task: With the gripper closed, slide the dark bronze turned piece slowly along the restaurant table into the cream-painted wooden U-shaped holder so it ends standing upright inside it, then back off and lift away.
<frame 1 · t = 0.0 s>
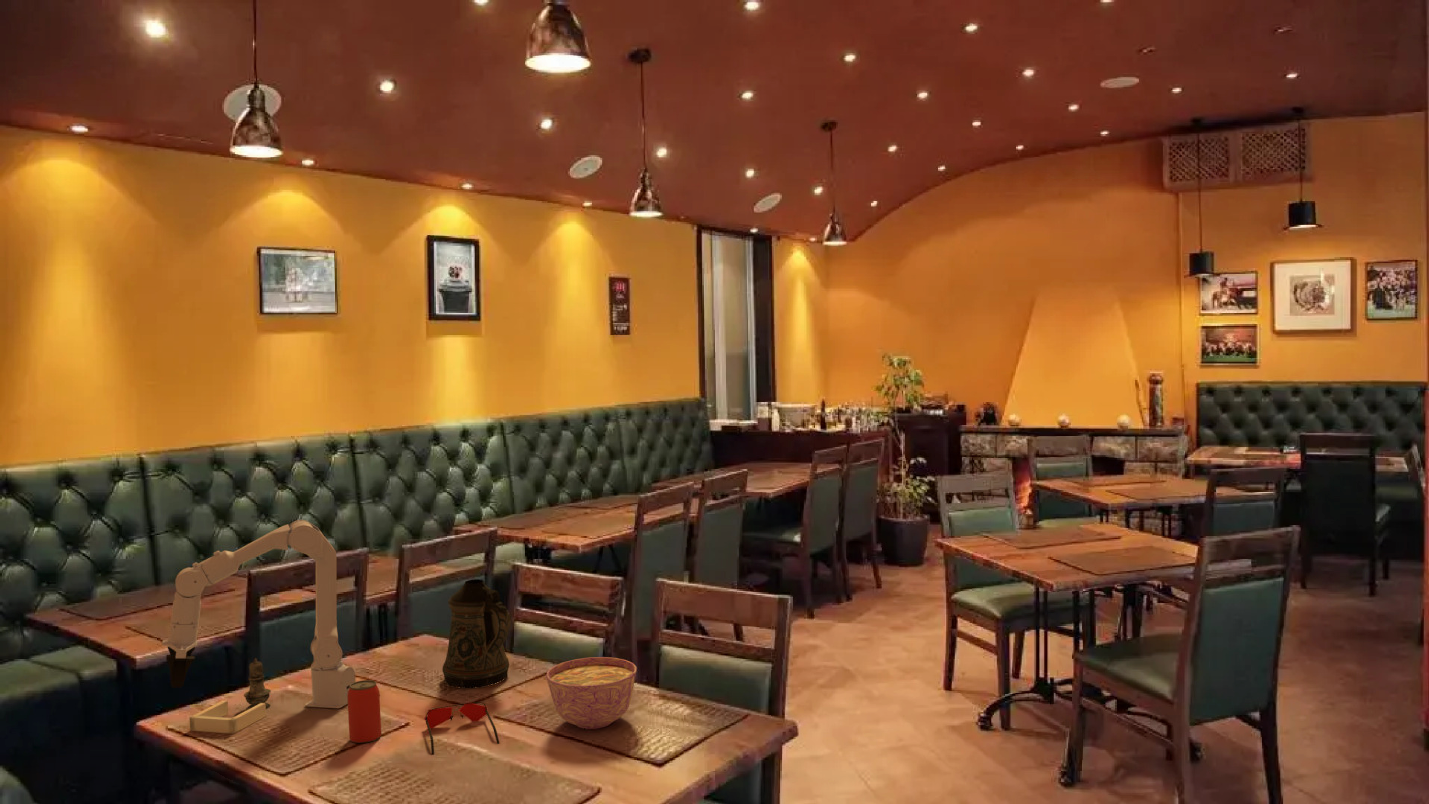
hand: (177, 682, 230), 11 cm above the table, tool pointing down, fingers open, 7 cm apart
beer can: (365, 739, 221), on the table
beer stein: (482, 678, 259), on the table
bowl of food: (593, 723, 226), on the table
shaker holder: (228, 723, 233), on the table
glasses: (461, 738, 221), on the table
dark bronze turned piece: (258, 708, 242), on the table
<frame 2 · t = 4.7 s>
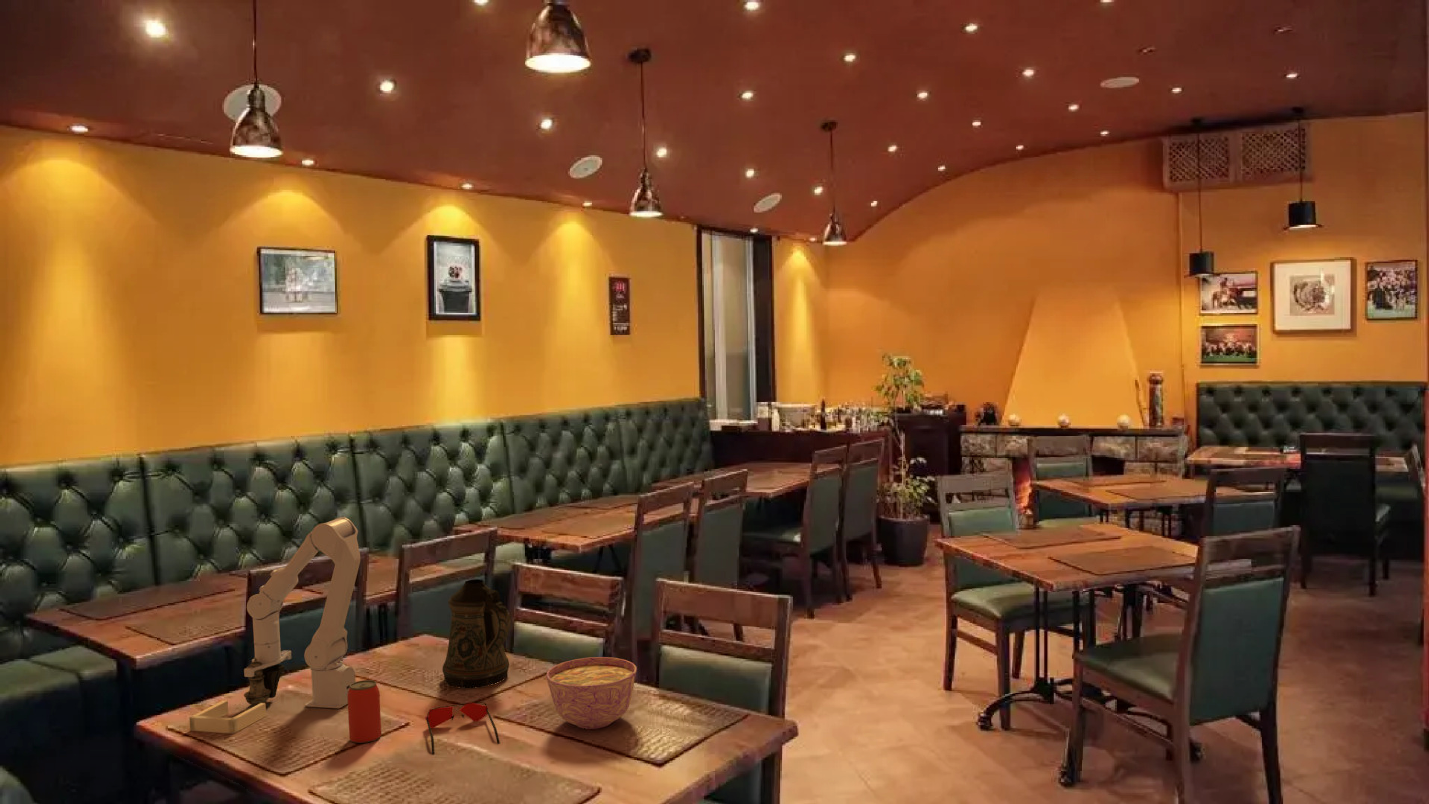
hand: (270, 696, 246), 1 cm above the table, tool pointing down, fingers closed
dark bronze turned piece: (258, 708, 242), on the table, touching gripper
everything else where it was.
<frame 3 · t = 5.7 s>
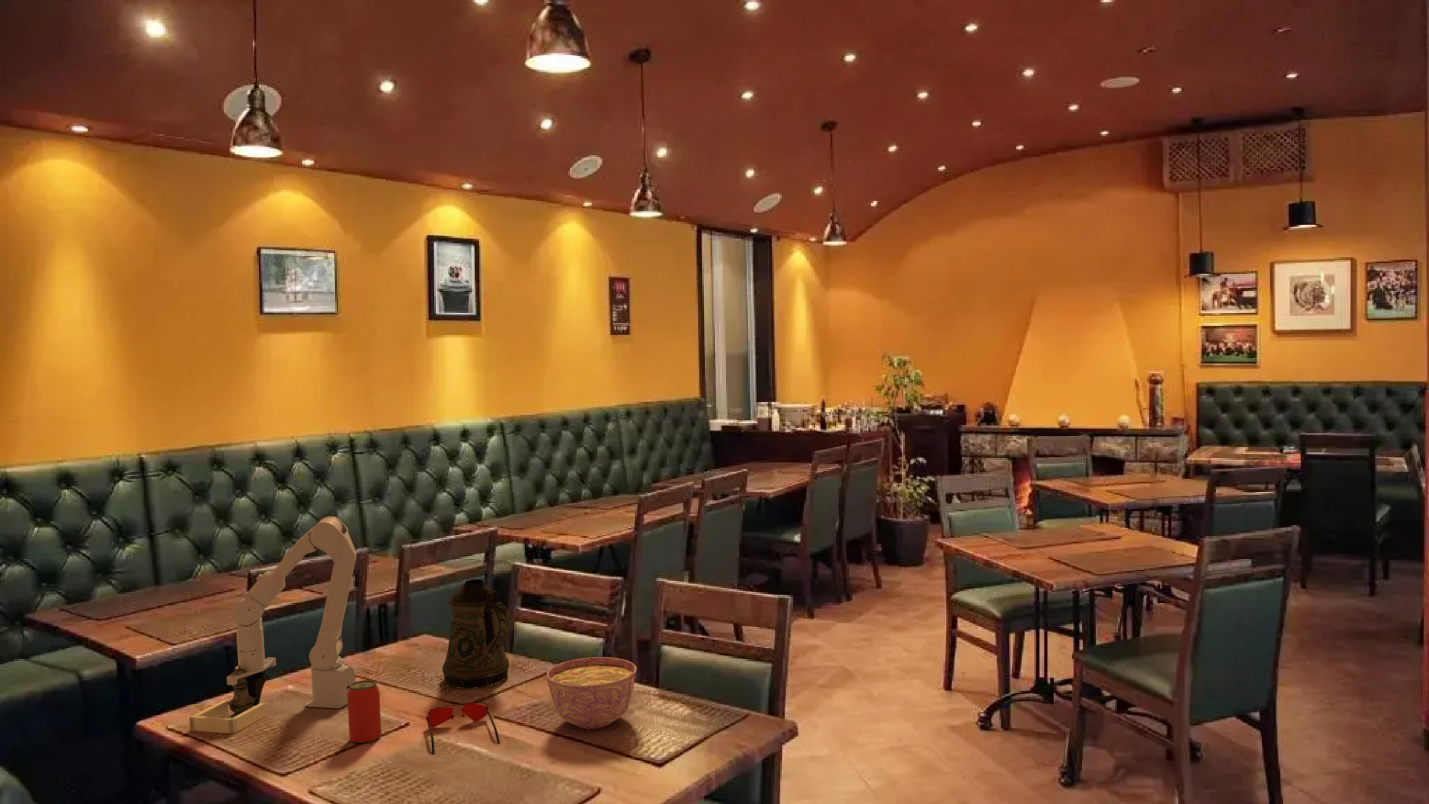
hand: (254, 705, 241), 1 cm above the table, tool pointing down, fingers closed
dark bronze turned piece: (242, 716, 237), on the table, touching gripper
everything else where it was.
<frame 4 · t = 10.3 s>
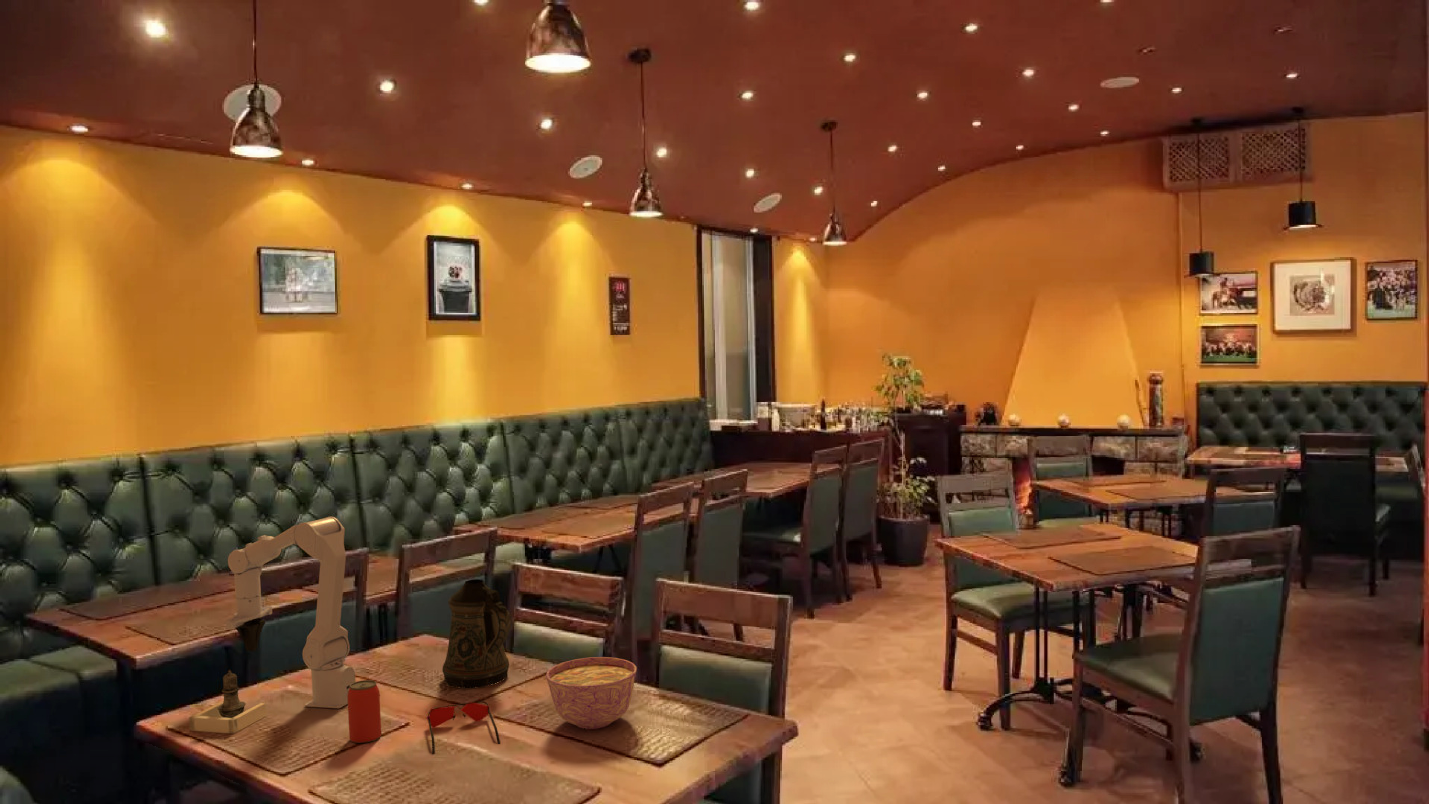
hand: (251, 650, 253), 10 cm above the table, tool pointing down, fingers closed
dark bronze turned piece: (232, 722, 234), on the table
everything else where it was.
at the end: dark bronze turned piece 0.2 cm from the target spot on the shaker holder, point 0.0 cm above the shaker holder's base; dark bronze turned piece tilted 0°; dark bronze turned piece moved 8.8 cm from its start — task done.
